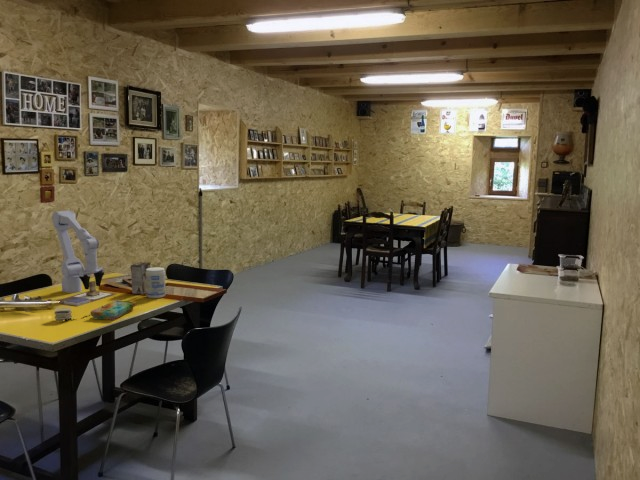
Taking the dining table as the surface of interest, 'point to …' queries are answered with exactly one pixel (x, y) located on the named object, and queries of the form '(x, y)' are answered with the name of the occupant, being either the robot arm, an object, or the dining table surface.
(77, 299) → the ink pad
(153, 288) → the supplement tub
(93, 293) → the stamp
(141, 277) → the coffee box
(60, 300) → the desk board
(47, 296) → the dining table surface
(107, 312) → the puzzle game
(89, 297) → the paper
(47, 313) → the dining table surface
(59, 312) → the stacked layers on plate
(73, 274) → the robot arm
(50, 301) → the dining table surface
